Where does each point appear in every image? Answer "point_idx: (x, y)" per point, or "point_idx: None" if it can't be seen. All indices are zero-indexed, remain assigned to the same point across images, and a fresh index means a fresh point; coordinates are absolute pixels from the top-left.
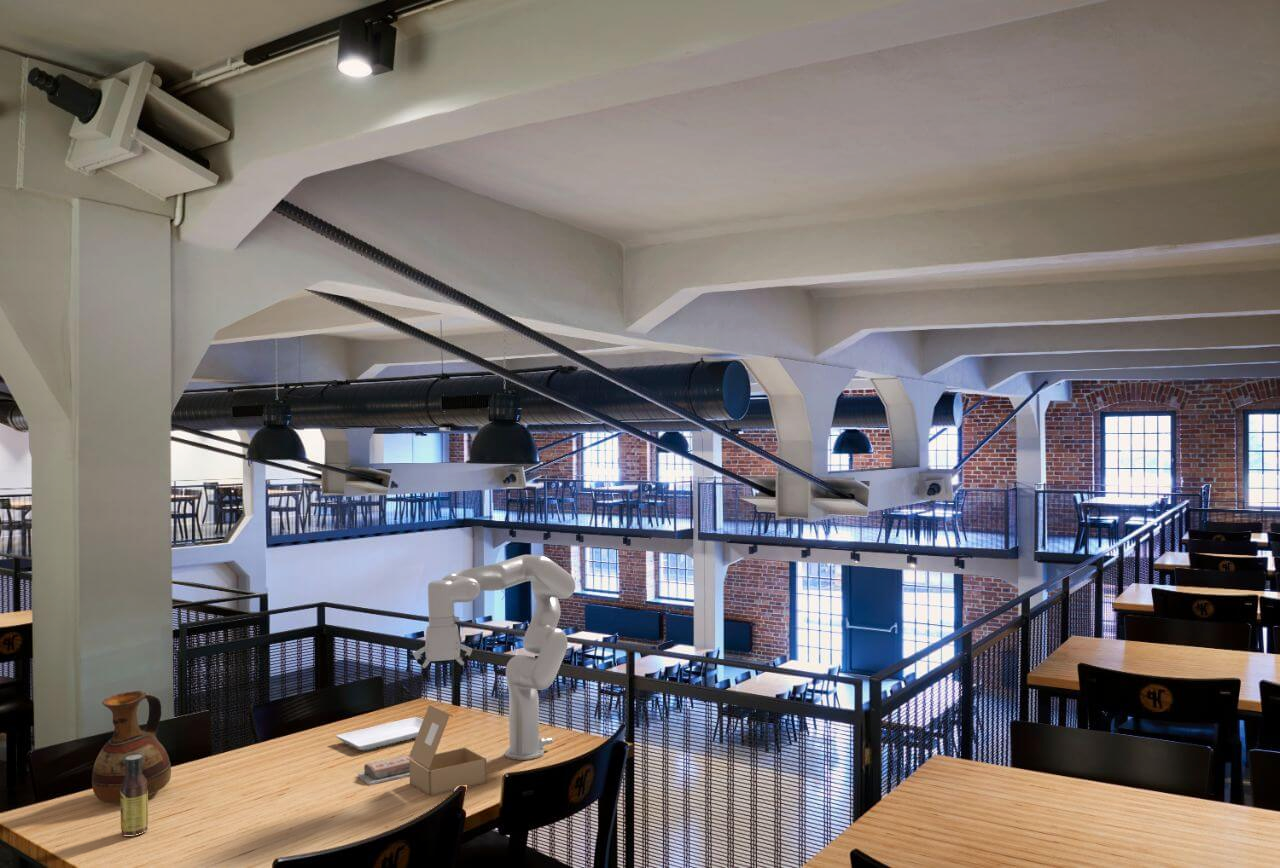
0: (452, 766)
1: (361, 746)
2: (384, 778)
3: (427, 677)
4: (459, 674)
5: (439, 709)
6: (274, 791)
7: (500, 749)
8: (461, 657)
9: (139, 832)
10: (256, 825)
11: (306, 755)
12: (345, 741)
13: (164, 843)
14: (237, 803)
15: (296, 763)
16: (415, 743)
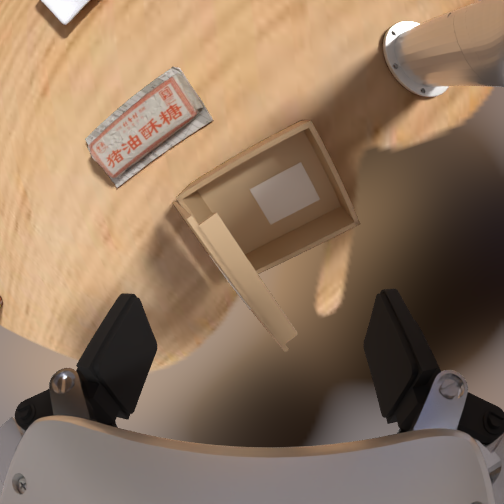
0: (284, 261)
1: (68, 22)
2: (136, 165)
3: (147, 365)
4: (373, 369)
5: (244, 288)
6: (18, 204)
7: (369, 10)
8: (456, 424)
9: (1, 305)
10: (59, 307)
11: (14, 51)
12: (47, 4)
13: (25, 323)
14: (10, 241)
15: (8, 87)
16: (179, 212)
